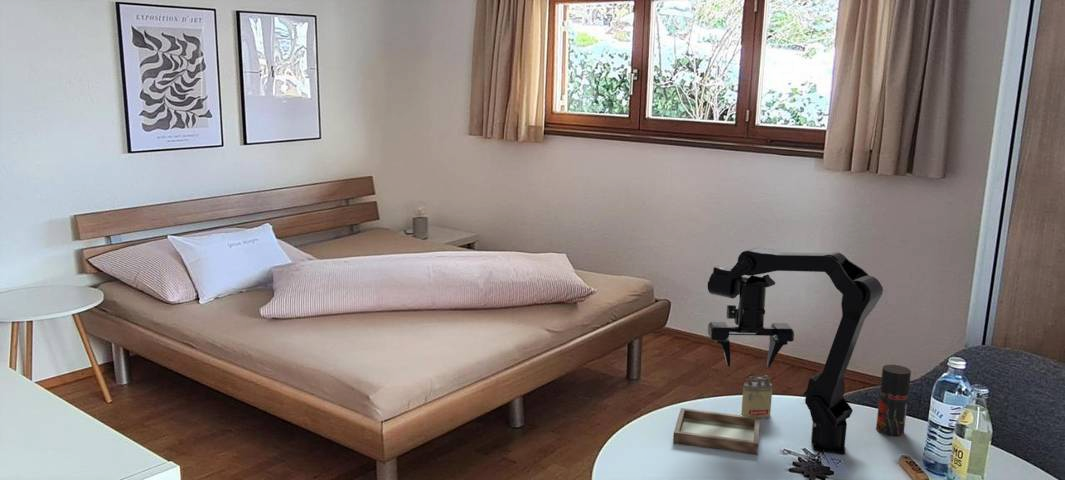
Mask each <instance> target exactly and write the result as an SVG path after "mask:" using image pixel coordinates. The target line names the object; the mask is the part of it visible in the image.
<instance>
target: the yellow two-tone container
mask: <svg viewBox="0 0 1065 480" xmlns="http://www.w3.org/2000/svg"><path fill="white" fill-rule="evenodd" d="M772 396H773V383H771V378H770V377H769V375H764V376H748V381H747V382H744V383H743V389H742V400H741V412H740V413H741V414H740V415H742V416H749V417H757V418H760V419H769V418H770V417H771V411H772V410H771V407H772Z"/></svg>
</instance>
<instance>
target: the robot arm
mask: <svg viewBox="0 0 1065 480" xmlns="http://www.w3.org/2000/svg"><path fill="white" fill-rule="evenodd" d="M772 272H773V273H774V272H806V273H807V272H809V273H810V272H811V273H812V272H815V273H816V272H817V273H826V275H827V276H828V277H829V278H830V280H831V283H832V284H833V285H834V287H835V288H836V289H837V291H838V292H840V293H841V302H840V303H841V307H840V308H841V312H842V313H841V314H842V315H841V319H840V320H839V321H840V322H839V324H838V327H837V330H836V332H835V335H834V339H833V341H832V344H831V347H830V350H829V353H828V356H827V358H826V362H825V364H824V366H823V369H822V371H820V372H818V373H817V374H815V375H814V376H812V377H809V379H808V383H807V388H806V390H805V392H804V393H803V395H804V396H805V398H804V399H805V400H804V402H805V403H804V404H805V405H806V406H807V408H808V410H809V413H810V417H811V420H812V422H811V423H812V425H811V426H812V427H811V435H810V440H811V442H810V443H811V445H812V446H813V450H814V451H819V452H826V453H835V454H841V455H845V454H846V448H845V446H846V435H847V428H848V427H847V425H848V424H847V419H849V418H851V416H852V413H853V411H854V410H853V408H852V407H851V405H850V404H849V403H848V401H847V400H846V399H845V398H844V395H845V389H846V386H845V374H846V372H847V368H848V366H849V363H850V361H851V359H852V355H853V352H854V350H855V347H856V344H857V341H858V340H859V336H860V334H861V331H862V328H863V326H864V322H865V321H866V319H867V317H869V315H870V314H871V312H872V311H873V310H874V308H875V307H876V305H878V302H879V301H880V299H881V297H882V295H883V292H884V287H883V286H882V284H881V282H880V280H879V279H877V278H876V277H875V276H872V275H869V274H868V272H866V271H865V270H864V269H863V268H862V267H860V266H859V265H857V264H856V263H853V262H852V261H850V260H849V259H848V258H847V257H846V256H845V255H844V254H843V253H841V252H838V251H834V252H781V251H778V250H776V249H773V248H767V247H763V246H757V247H754V248H751V249H750V248H749V249H747V250H743V251H742V252H741V253H740V254H738V257H737V262H736V263H735V265H733V267H732V268H727V267H724V266H722V265H721V266H720V265H717V266H714V267H713V271H712V273H711V274H710V276H709V279H708V281H707V291H708V293H709V294H711V295H714V296H719V297H724V298H727V299H728V298H729V299H735V298H737V296H739V298H738V300H739V301H738V305H737V306H738V307H737V306H736V305H734V304H733V305H730V304H729V305H727V306H726V319H728V320H734V324H735V325H737V326H728V325H727V323H726V321H710V322H709V323H708V325H707V334H708V336H709V337H710V339H711V340H712V341H715V342H716V344H719V345H720V346H721V349H722V352H723V355H724V359H725V362H726V366H727V367H728V368H730V366H731V341H730V339H729V338H730V336H757V337H758V336H765V337H767V336H769V345H768V351H767V358H766V367H767V368H771V366H772V364H773V362H774V360H775V358H776V357H777V355H778V353H779V352H780V351H781V350H782V348H783V346H786V345H788V343H789V342H790V343H791V342H794V340H795V331H794V329H793V328H792V327H791V325H789V324H788V323H787V322H772V323H771V325H770V327H769V326H767V327H766V326H765V327H764V321H765V314H766V309H765V307H766V294H767V293H766V290H767V288H770V287H772V286H775V285H776V281H775V280H774V279H772V278H771V277H770V275H769V274H767V273H772ZM764 274H765V275H764ZM758 275H763V276H758ZM745 276H749V277H745Z"/></svg>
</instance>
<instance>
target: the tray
mask: <svg viewBox="0 0 1065 480" xmlns="http://www.w3.org/2000/svg"><path fill="white" fill-rule="evenodd" d="M760 419H761V418H757V417H749V416H741V414H740V415H739V414H733V413H725V412H717V411H716V412H715V411H709V410H708V411H707V410H701V409H700V410H699V409H694V408H693V409H692V408H685V407H680V410H679V413H678V417H677V419H676V423H675V427H674V430H673V437H672V438H673V439H672V444H674V445H675V444H676V445H683V446H690V447H697V448H704V449H712V450H719V451H725V452H727V451H728V452H734V453H741V454H748V455H754V456H755V455H756V456H757V455H758V452H759V451H758V450H759V437H760V434H759V433H760Z"/></svg>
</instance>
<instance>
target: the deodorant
mask: <svg viewBox="0 0 1065 480" xmlns="http://www.w3.org/2000/svg"><path fill="white" fill-rule="evenodd" d="M911 373H912V370H911V369H910V368H908V367H906V366H903V365H898V364H885V365H883V366H882V369H881V380H880V389H879V399H878V408H877V415H876V416H877V418H876V428H875V430H876V431H877V432H878V433H880V434H881V435H885V436H888V437H894V438H895V437H896V438H897V437H902V436H904V434H905V427H906V426H905V425H906V416H907V408H908V401H909V392H910V384H911V382H910V381H911Z"/></svg>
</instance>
